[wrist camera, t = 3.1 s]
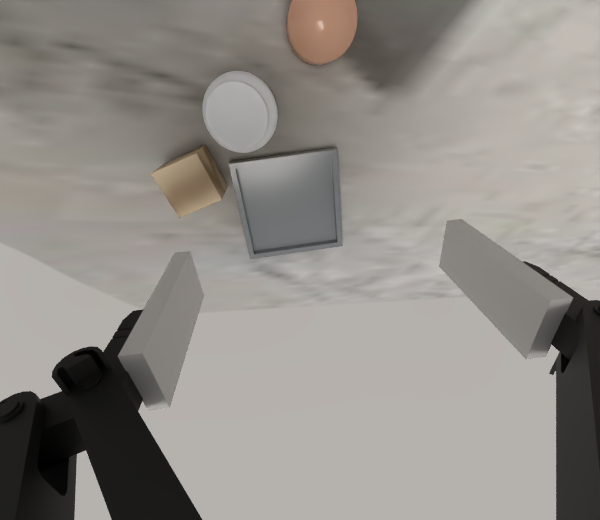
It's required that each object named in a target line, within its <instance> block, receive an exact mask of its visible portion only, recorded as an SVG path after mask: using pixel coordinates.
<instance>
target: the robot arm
mask: <svg viewBox="0 0 600 520" xmlns="http://www.w3.org/2000/svg"><path fill="white" fill-rule="evenodd" d="M439 267H440V268H441V269H442V270H443V271H444V272H445V273H446V274H447V275H448V276H449V277H450V278H451V280H452V281H453V282H454V283H455V284H456V285H457V286H458V287H459V288H460V289H461V290H462V291H463V292H464V293H465V295H466V296H467V297H468V298H469V299H470V300H471V301H472V302H473V303H474V304H475V305H476V306H477V307H478V308H479V310H480V311H481V312H482V313H483V314H484V315H485V316H486V317H487V318H488V319H489V320H490V321H491V322H492V323H493V324H494V326H495V327H496V328H497V329H498V330H499V331H500V332H501V333H502V334H503V335H504V336H505V337H506V338H507V339H508V341H509V342H510V343H511V344H512V345H513V346H514V347H515V348H516V349H517V350H518V351H519V352H520V353H521V355H522V356H523V357H524V358H525V359H531V358H539V357H545V356H546V355H547V353H548V351H549V349H550V347H551V344H552V345H553V346H554V347H555V348H556V349H558V351H560V352H559V354H558V357H557V358H556V361H555V363H554V365H553V367H552V369H551V371H550V374H552V375H553V374H554V372H555V371H556V422H557V423H556V452H557V453H556V459H557V460H556V461H557V462H556V472H557V473H556V485H557V486H556V493H557V494H556V500H557V501H556V514H557V516H556V520H600V301H598V300H593V301H588V300H587V299H585V298H584V297H582V296H581V295H579V294H578V293H577V292H575V291H574V290H572V289H571V288H569V287H568V286H566V285H565V284H563V283H562V282H558V280H557V279H556V278H554V277H553V276H550V275H549V273H547V272H546V271H544V270H543V269H541V268H540V267H538V266H535V265H533V264H530V263H528V262H525V261H524V262H522V261H520V260H519V259H518V258H516V257H515V256H513V255H512V254H511V253H509V252H508V251H506V250H505V249H503V248H502V247H501V246H499V245H498V244H496V243H495V242H493V241H492V240H491V239H489V238H488V237H486V236H485V235H483V234H482V233H481V232H479V231H478V230H476V229H475V228H473V227H472V226H471V225H469V224H468V223H466V222H465V221H464V220H462V219H458V220H450V221H447V224H446V230H445V235H444V241H443V247H442V253H441V259H440V264H439ZM203 297H204V294H203V291H202V288H201V285H200V281H199V278H198V275H197V272H196V268H195V265H194V262H193V259H192V256H191V252H190V251H189V252H181V253H175V254H174V255H173V257H172V259H171V261H170V263H169V264H168V266H167V268H166V270H165V272H164V274H163V275H162V277H161V279H160V281H159V283H158V284H157V286H156V288H155V290H154V292H153V293H152V295H151V297H150V299H149V301H148V302H147V304H146V306H145V308H144V310H137V311H133V312H132V313H130V314H129V315H128V316H127V317H126V318H125V319H124V320H123V321H122V323H121V324H120V326H119V328H118V329H117V330H118V331H117V332H115V334H114V336H113V339H111V341H110V342H109V344H108V345H107V347H106V349H105V350H104V352H102V350H100V349H99V348H98V347H87V348H82V349H79V350H77V351H74V352H72V353H71V354H69V355H68V356H66V357H64V358H63V359H62V360H61V361H60V362H59V363H58V364H57V365H56V366H55V368H54V370H53V372H52V378H53V379H54V380H55V382H56V383H57V384H58V386H59V387H60V388H61V390H62V391H61V392H59V393H56V394H53V395H51V396H48V397H45V398H42V399H39V397H38V396H37V395H36V394H35V393H33V392H31V391H29V392H21V393H17V394H14V395H12V396H10V397H8V398H6V399H4V400H3V401H1V402H0V520H74V510H75V484H76V458H77V454H78V453H80V452H82V451H85V450H86V451H87V454H88V456H89V459H90V462H91V465H92V467H93V470H94V473H95V475H96V478H97V480H98V483H99V486H100V489H101V491H102V494H103V497H104V499H105V502H106V505H107V508H108V510H109V513H110V516H111V518H112V520H202V519H201V517H200V515H199V514H198V512H197V510H196V508H195V507H194V505H193V503H192V502H191V500H190V498H189V497H188V495H187V493H186V492H185V490H184V488H183V487H182V485H181V483H180V481H179V480H178V478H177V476H176V475H175V473H174V472H173V470H172V468H171V466H170V465H169V463H168V461H167V460H166V458H165V456H164V454H163V453H162V451H161V449H160V448H159V446H158V444H157V443H156V441H155V439H154V438H153V436H152V434H151V433H150V431H149V429H148V428H147V426H146V424H145V423H144V421H143V419H142V418H141V416H140V414H139V413H138V410H139V408H140V405H141V403H142V401H143V402H144V404H145V406H146V408H147V409H148V410H154V409H161V408H169V407H170V405H171V401H172V398H173V395H174V392H175V388H176V385H177V382H178V378H179V375H180V372H181V368H182V365H183V362H184V359H185V355H186V352H187V349H188V345H189V343H190V339H191V336H192V333H193V329H194V326H195V323H196V320H197V316H198V313H199V310H200V307H201V303H202V300H203Z"/></svg>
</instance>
